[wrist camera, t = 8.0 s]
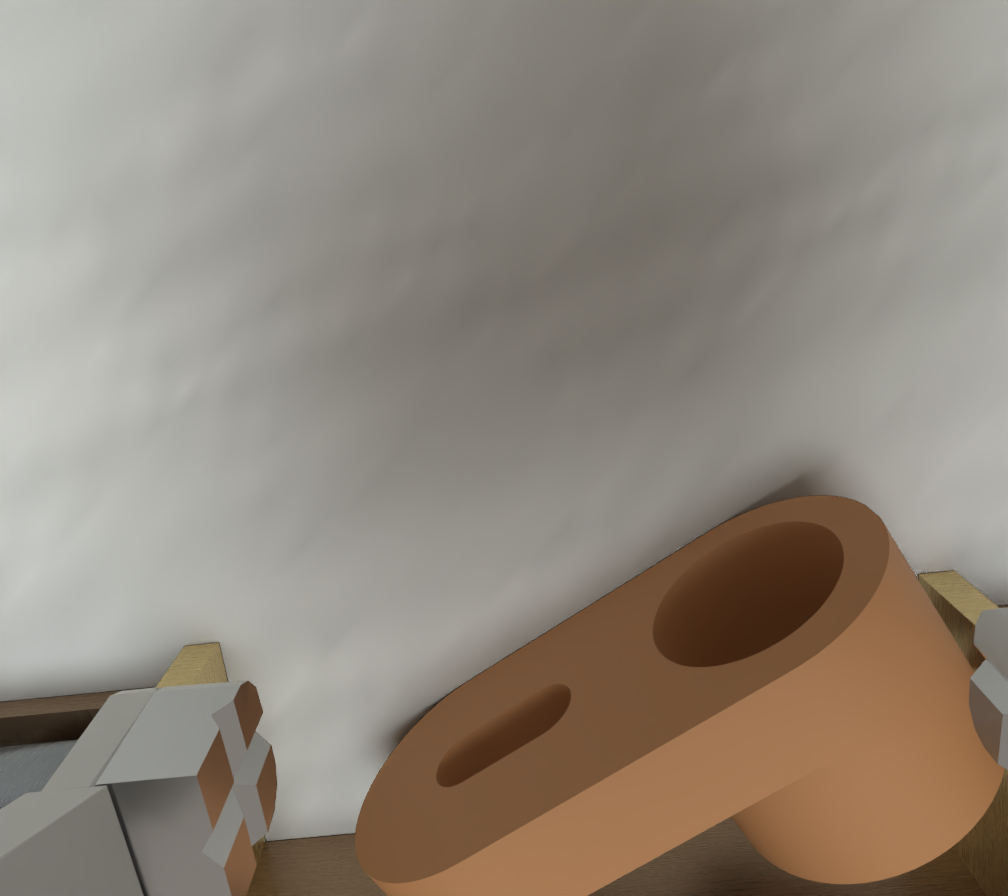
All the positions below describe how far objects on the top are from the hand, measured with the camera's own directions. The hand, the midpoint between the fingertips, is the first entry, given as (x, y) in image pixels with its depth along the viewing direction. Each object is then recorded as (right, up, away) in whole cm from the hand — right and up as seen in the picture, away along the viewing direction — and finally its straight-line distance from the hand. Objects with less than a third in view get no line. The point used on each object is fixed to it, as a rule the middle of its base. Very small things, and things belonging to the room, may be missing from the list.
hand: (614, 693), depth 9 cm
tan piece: (+1, -4, +15) cm, 15 cm away
